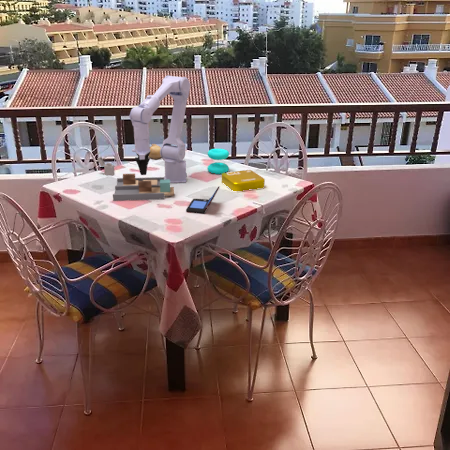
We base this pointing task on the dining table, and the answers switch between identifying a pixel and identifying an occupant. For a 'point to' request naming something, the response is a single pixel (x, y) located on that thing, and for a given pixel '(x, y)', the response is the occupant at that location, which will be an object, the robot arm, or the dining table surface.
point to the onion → (155, 151)
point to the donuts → (217, 166)
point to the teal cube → (165, 185)
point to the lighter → (107, 167)
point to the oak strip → (147, 188)
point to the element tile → (242, 180)
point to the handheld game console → (200, 205)
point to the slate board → (137, 190)
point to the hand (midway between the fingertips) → (143, 171)
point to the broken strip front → (129, 179)
